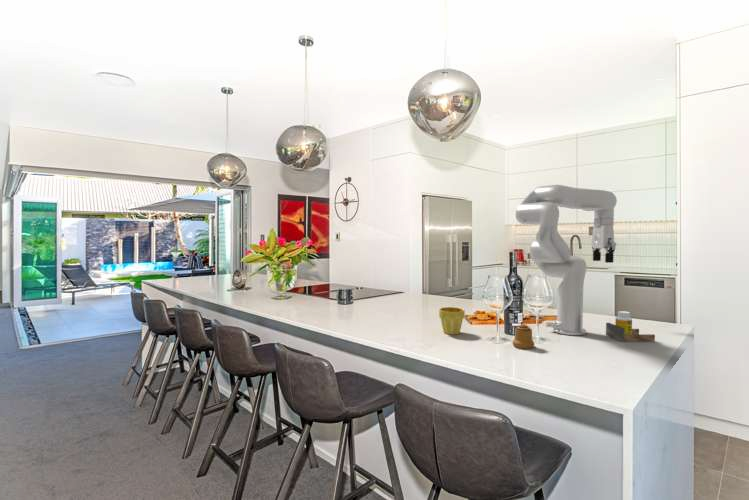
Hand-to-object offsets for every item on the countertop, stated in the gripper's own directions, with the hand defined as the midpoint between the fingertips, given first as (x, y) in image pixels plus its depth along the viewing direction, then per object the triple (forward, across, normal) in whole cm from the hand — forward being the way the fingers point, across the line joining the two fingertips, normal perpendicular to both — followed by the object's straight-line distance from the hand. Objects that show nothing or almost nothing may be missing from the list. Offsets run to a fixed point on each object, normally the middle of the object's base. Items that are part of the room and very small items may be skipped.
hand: (602, 261), depth 182 cm
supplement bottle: (+28, +22, -4) cm, 36 cm away
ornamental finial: (+29, +33, -47) cm, 64 cm away
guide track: (+28, +22, -1) cm, 36 cm away
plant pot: (+28, +12, -69) cm, 76 cm away
